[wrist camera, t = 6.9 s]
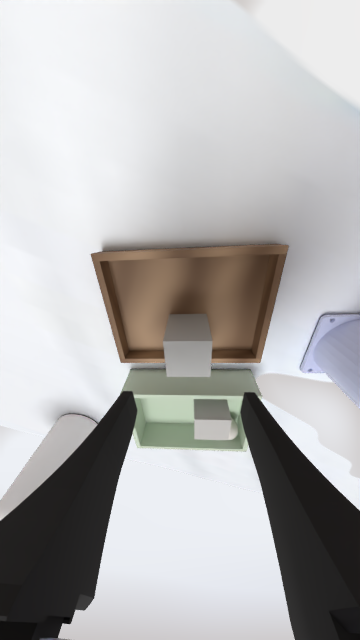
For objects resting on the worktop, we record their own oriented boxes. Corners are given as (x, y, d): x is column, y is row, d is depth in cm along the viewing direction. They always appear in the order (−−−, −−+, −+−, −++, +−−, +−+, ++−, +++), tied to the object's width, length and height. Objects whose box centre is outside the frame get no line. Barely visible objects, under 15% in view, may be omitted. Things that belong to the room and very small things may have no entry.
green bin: (250, 369, 22) (262, 396, 18) (238, 423, 27) (246, 451, 24) (130, 369, 23) (120, 394, 19) (143, 421, 28) (137, 447, 25)
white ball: (236, 411, 25) (242, 432, 22) (234, 423, 26) (239, 444, 24) (216, 411, 25) (219, 432, 22) (215, 422, 26) (218, 444, 24)
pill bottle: (106, 420, 29) (36, 580, 16) (98, 441, 32) (35, 586, 19) (59, 407, 28) (-60, 568, 14) (56, 430, 31) (-41, 577, 18)
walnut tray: (276, 243, 15) (288, 245, 13) (253, 351, 20) (260, 362, 18) (101, 251, 16) (90, 253, 14) (126, 351, 21) (121, 362, 19)
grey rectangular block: (223, 382, 22) (231, 420, 18) (220, 402, 24) (228, 440, 20) (193, 382, 22) (194, 419, 18) (193, 401, 24) (194, 439, 20)
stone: (206, 313, 18) (212, 341, 13) (205, 344, 19) (210, 377, 15) (169, 314, 18) (162, 341, 13) (171, 344, 20) (166, 376, 15)
